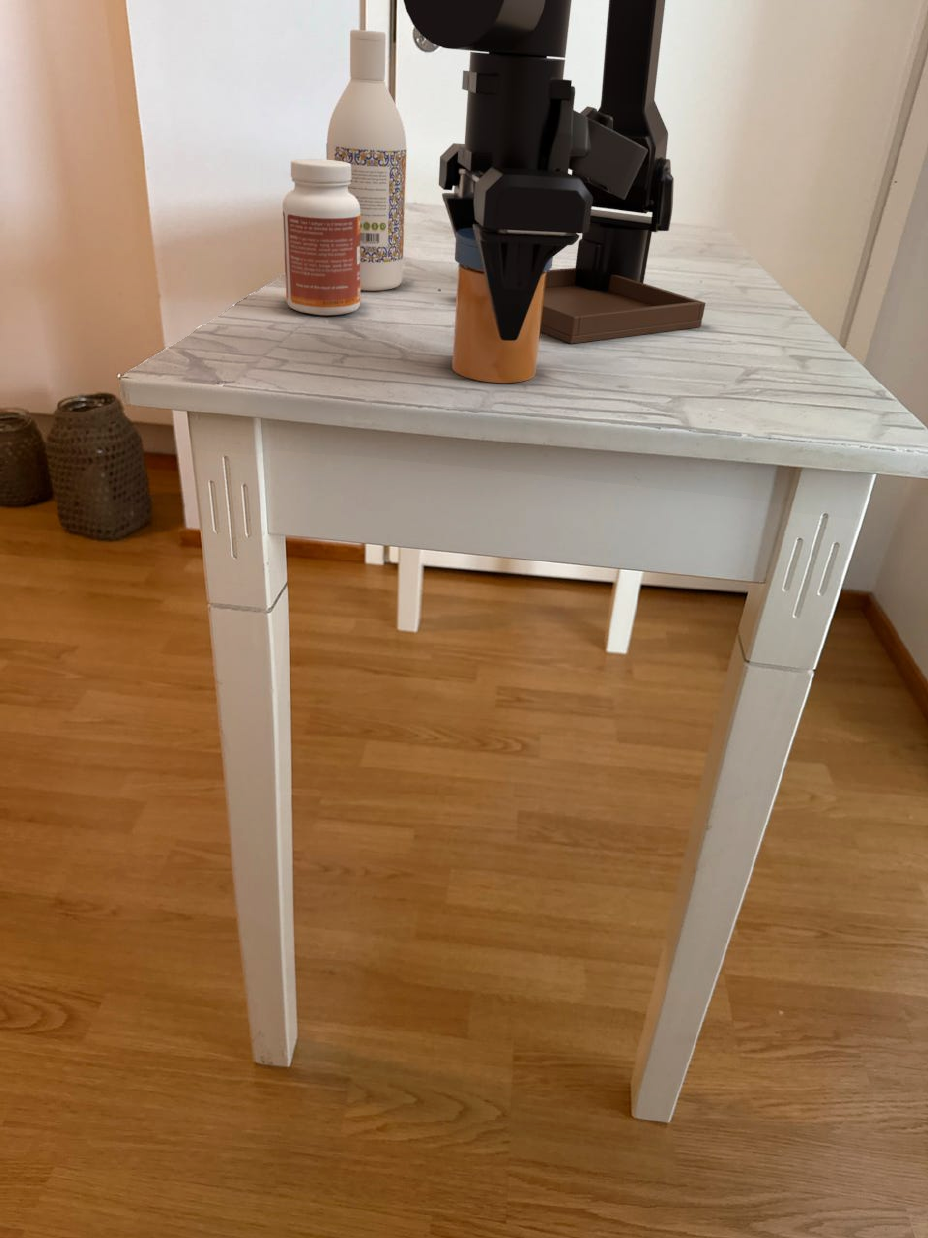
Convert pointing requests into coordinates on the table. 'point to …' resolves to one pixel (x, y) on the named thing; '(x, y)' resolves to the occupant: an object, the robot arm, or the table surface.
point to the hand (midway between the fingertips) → (494, 321)
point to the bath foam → (372, 160)
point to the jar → (492, 334)
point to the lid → (473, 250)
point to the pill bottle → (322, 239)
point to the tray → (612, 309)
